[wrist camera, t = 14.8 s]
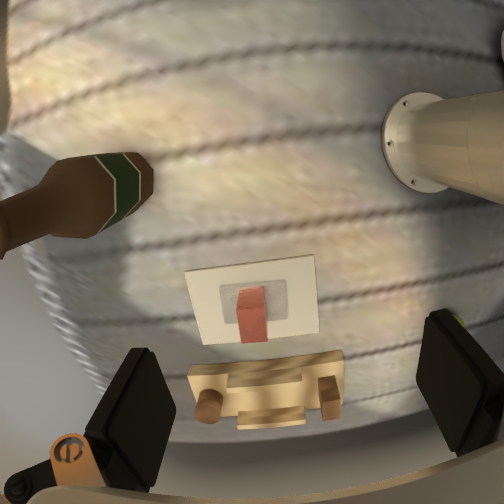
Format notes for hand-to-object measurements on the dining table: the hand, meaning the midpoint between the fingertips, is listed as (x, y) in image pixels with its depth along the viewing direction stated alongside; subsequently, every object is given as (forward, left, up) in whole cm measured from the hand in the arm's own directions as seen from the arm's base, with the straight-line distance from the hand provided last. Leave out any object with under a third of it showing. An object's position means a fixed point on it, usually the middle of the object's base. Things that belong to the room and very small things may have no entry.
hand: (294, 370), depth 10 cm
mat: (+4, +12, -28) cm, 31 cm away
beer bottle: (+17, -6, -28) cm, 34 cm away
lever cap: (+4, +11, -28) cm, 30 cm away
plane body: (+4, +26, -28) cm, 39 cm away
